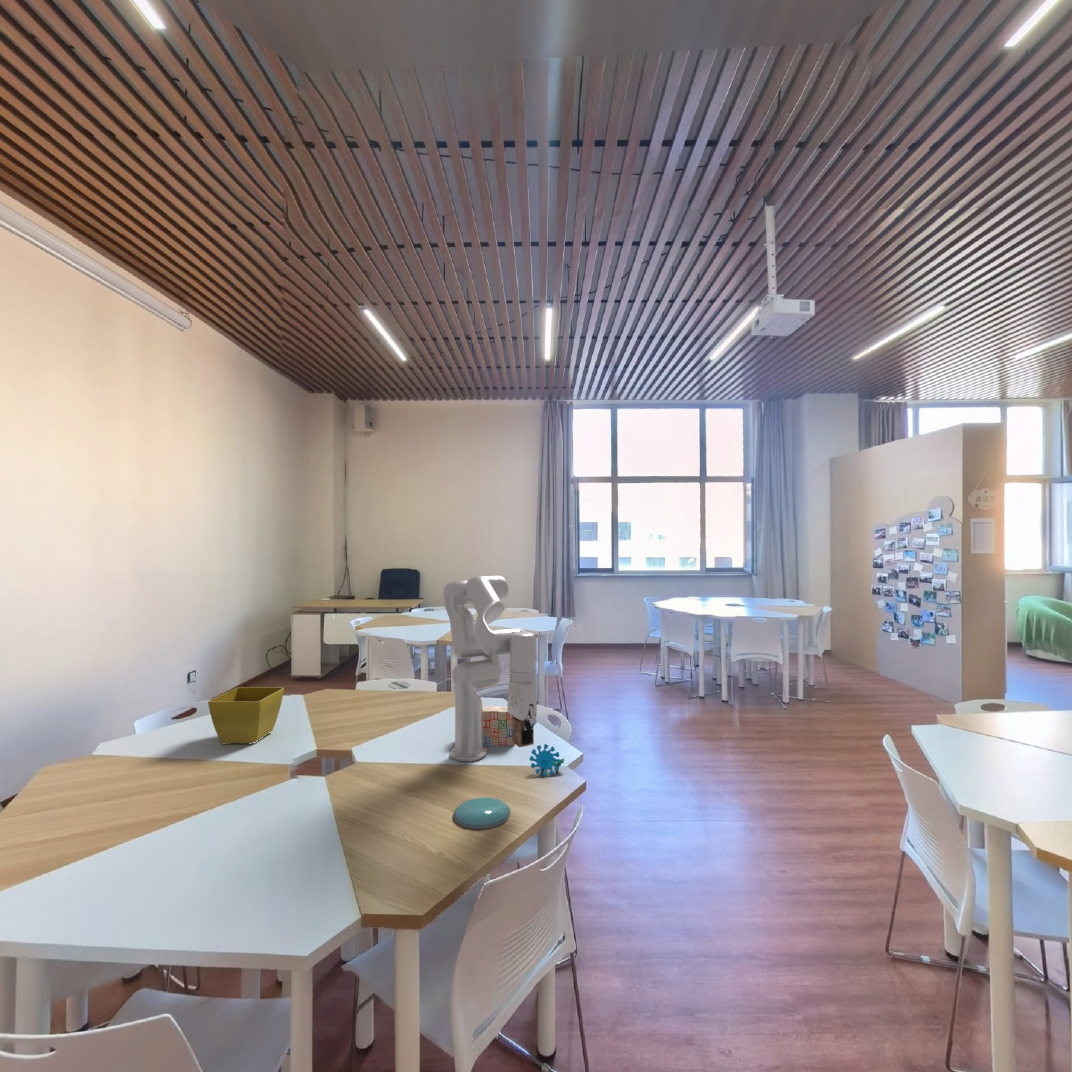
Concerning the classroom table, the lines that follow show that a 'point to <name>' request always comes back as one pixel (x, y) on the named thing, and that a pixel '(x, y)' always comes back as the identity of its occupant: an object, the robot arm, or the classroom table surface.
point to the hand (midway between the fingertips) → (522, 740)
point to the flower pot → (245, 713)
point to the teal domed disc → (481, 813)
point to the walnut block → (519, 732)
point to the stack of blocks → (497, 726)
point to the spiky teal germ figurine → (546, 760)
